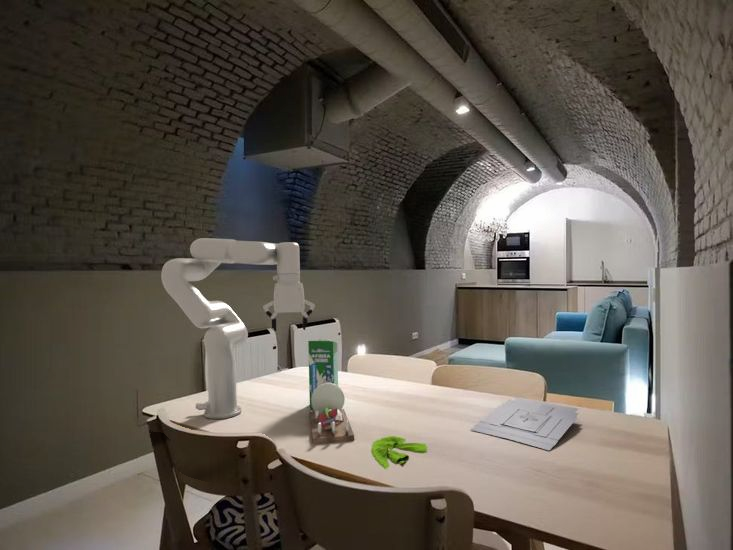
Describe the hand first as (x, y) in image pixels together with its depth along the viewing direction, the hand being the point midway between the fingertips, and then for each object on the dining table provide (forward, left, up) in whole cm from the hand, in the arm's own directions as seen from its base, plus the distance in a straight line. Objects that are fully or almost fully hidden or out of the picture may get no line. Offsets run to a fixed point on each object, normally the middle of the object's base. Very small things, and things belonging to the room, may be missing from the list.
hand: (289, 329), depth 146 cm
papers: (+73, -24, -31) cm, 83 cm away
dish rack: (+12, -10, -30) cm, 34 cm away
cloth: (+29, -34, -31) cm, 54 cm away
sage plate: (+12, -4, -29) cm, 31 cm away
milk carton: (+12, +12, -31) cm, 35 cm away
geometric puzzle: (+12, -16, -29) cm, 35 cm away
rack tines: (+12, -10, -29) cm, 33 cm away
